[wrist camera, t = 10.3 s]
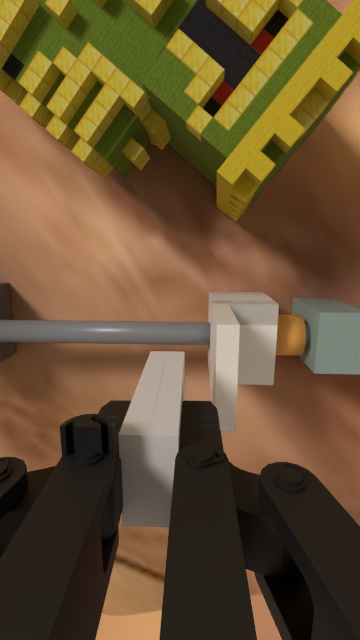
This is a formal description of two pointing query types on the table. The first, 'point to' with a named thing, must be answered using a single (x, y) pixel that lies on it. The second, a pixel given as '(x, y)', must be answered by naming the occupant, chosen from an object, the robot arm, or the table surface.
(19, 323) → the rail
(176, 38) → the toy
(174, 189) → the table surface
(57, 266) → the table surface
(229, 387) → the cream l-shaped block
